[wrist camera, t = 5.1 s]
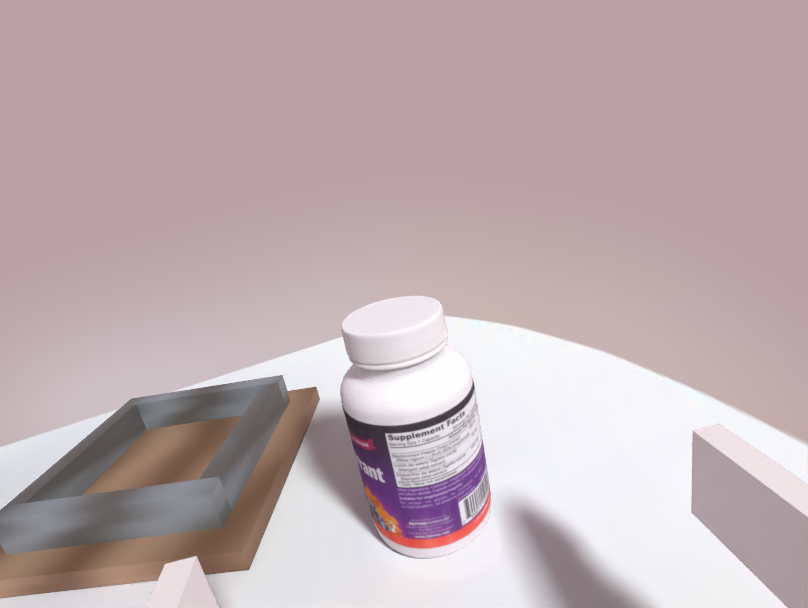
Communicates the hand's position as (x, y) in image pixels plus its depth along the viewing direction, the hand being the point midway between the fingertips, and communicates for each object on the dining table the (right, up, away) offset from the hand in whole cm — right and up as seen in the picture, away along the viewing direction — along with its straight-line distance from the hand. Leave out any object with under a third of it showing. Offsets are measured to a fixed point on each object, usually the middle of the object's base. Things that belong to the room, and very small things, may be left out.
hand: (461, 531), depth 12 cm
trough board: (-15, -4, +15) cm, 21 cm away
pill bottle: (0, -4, +9) cm, 9 cm away
